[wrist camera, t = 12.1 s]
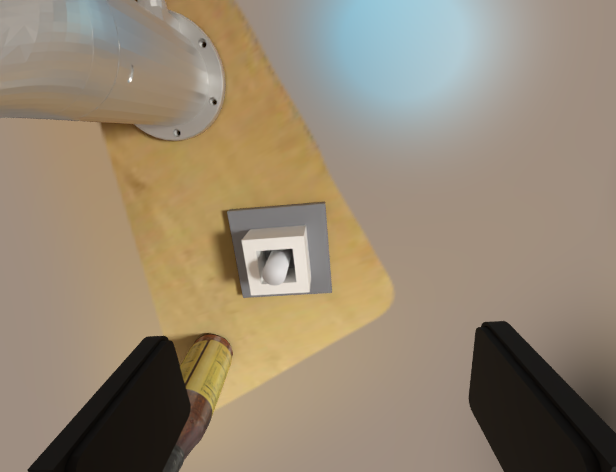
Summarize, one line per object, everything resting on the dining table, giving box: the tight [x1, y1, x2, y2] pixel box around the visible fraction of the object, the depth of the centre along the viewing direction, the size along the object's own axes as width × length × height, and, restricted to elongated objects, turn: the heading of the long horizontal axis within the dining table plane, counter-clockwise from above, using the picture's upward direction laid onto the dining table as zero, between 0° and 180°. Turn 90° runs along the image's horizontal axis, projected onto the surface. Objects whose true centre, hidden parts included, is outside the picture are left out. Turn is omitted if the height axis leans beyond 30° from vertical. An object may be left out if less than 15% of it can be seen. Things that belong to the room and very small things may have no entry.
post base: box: [227, 202, 332, 298], centre depth 35 cm, size 12×12×7 cm
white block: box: [242, 225, 311, 296], centre depth 36 cm, size 7×7×4 cm
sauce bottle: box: [163, 334, 233, 472], centre depth 35 cm, size 7×6×20 cm
